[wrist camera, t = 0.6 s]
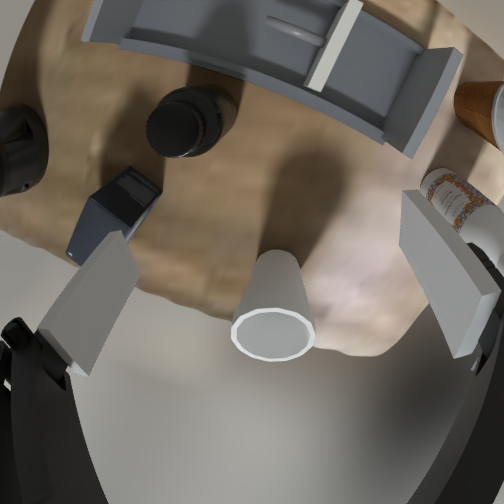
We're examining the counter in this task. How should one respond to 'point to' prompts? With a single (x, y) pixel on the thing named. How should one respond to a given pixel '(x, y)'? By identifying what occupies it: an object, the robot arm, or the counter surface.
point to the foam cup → (274, 311)
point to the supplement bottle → (191, 120)
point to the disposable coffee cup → (482, 110)
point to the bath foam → (467, 212)
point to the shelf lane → (293, 57)
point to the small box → (113, 212)
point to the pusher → (322, 41)
